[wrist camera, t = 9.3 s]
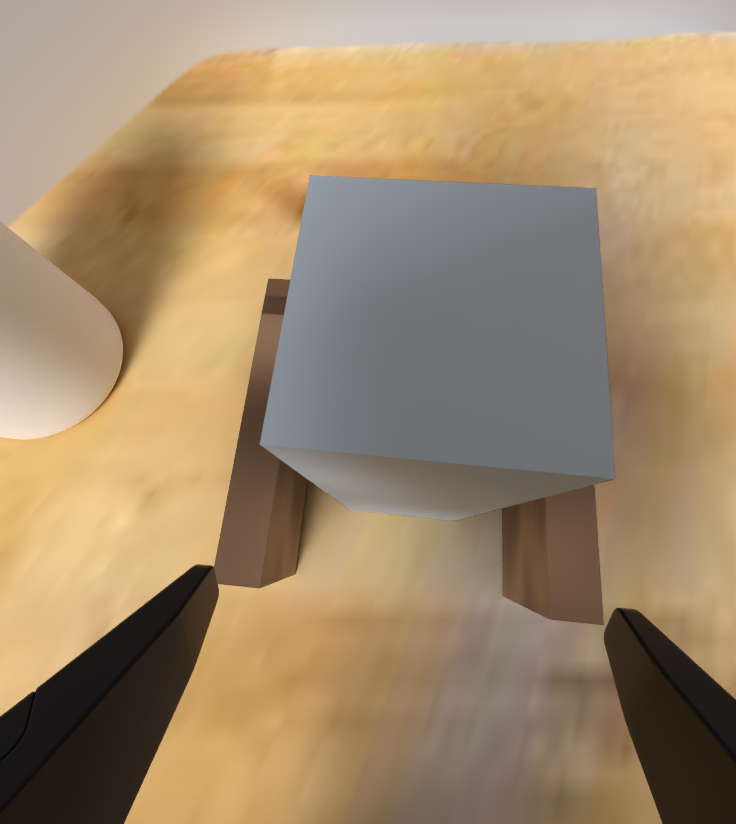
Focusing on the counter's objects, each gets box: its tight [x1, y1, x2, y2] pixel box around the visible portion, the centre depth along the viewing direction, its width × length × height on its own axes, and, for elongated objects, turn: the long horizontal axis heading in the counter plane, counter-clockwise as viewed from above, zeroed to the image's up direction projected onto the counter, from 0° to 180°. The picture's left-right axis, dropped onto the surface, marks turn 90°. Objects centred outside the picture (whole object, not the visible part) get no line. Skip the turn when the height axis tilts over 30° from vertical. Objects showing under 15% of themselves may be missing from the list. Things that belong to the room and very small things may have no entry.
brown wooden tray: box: [214, 279, 604, 625], centre depth 16 cm, size 11×12×5 cm
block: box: [260, 175, 615, 521], centre depth 12 cm, size 4×4×13 cm
